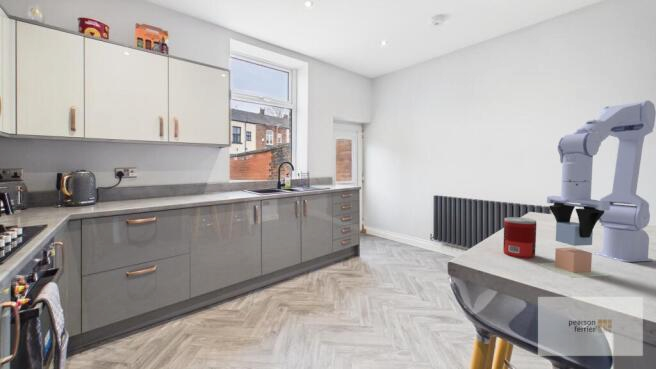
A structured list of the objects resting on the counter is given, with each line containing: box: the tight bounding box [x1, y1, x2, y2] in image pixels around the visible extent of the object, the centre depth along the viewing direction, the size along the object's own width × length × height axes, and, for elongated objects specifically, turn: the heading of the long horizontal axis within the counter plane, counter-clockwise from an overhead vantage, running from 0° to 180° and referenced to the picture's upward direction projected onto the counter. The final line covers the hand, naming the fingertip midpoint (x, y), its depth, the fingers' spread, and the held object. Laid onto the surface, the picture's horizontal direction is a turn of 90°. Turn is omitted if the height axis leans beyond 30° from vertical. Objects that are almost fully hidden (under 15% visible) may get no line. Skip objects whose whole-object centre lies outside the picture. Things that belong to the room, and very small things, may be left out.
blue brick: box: [555, 221, 594, 247], centre depth 73 cm, size 5×5×5 cm
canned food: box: [502, 216, 537, 259], centre depth 86 cm, size 8×8×11 cm
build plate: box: [536, 262, 612, 278], centre depth 74 cm, size 11×10×1 cm
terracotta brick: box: [554, 247, 593, 273], centre depth 74 cm, size 5×5×5 cm
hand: (573, 234), depth 74 cm, fingers closed on blue brick, 5 cm apart
